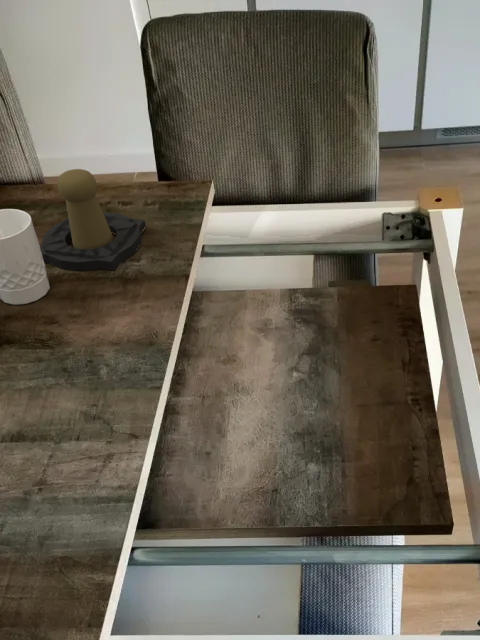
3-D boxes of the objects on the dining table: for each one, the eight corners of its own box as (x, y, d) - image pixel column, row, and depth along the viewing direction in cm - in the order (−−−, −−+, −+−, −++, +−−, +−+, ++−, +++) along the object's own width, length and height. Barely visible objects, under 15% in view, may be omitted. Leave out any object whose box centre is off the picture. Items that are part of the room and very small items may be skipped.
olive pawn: (66, 243, 98) (43, 172, 90) (103, 230, 101) (84, 159, 93) (84, 260, 95) (62, 187, 87) (122, 245, 98) (104, 174, 90)
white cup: (21, 314, 86) (-7, 246, 79) (-18, 296, 89) (-49, 229, 82) (66, 285, 90) (44, 218, 83) (27, 269, 93) (2, 203, 86)
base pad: (26, 265, 94) (23, 255, 93) (71, 217, 104) (69, 208, 103) (118, 275, 92) (115, 266, 91) (155, 225, 102) (153, 216, 101)
